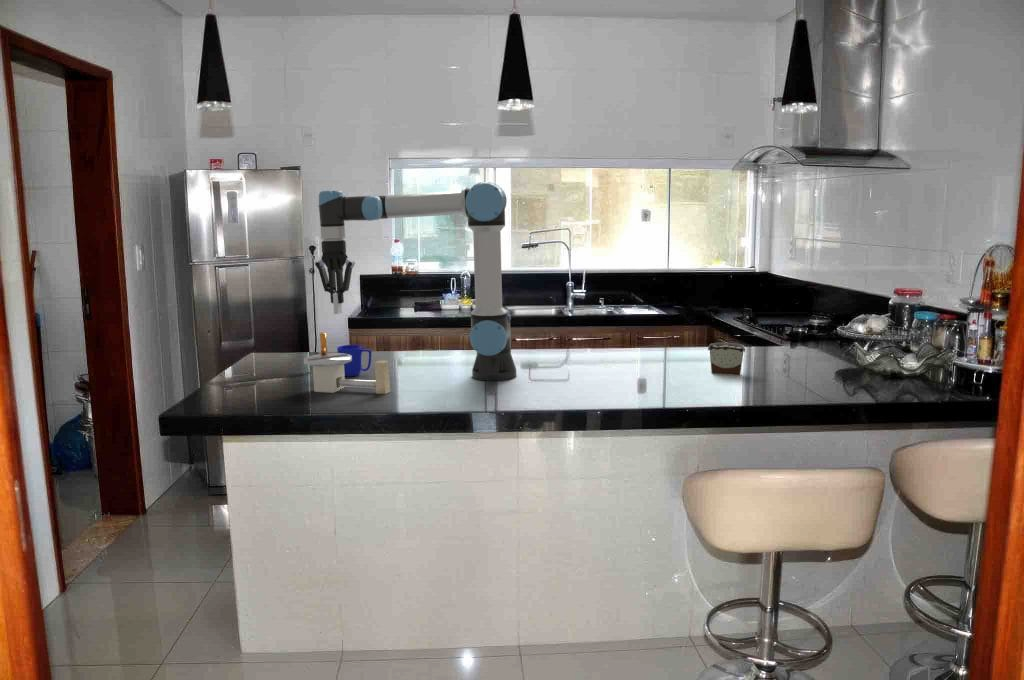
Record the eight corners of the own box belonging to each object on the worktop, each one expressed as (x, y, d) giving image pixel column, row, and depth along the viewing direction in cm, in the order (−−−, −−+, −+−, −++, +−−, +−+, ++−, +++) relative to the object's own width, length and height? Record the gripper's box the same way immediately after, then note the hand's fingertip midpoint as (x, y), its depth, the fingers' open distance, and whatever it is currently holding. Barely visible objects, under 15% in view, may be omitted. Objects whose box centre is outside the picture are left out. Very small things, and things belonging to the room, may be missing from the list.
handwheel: (341, 354, 261) (340, 330, 260) (359, 361, 249) (357, 336, 248) (297, 360, 253) (295, 335, 252) (313, 368, 241) (312, 342, 239)
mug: (367, 378, 268) (366, 349, 266) (334, 377, 270) (333, 348, 269) (376, 373, 276) (375, 345, 274) (344, 372, 278) (342, 344, 276)
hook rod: (390, 391, 248) (388, 360, 246) (385, 394, 245) (383, 362, 243) (320, 387, 256) (318, 357, 254) (314, 389, 253) (312, 359, 251)
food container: (747, 372, 266) (748, 343, 264) (744, 376, 260) (745, 346, 258) (710, 369, 271) (711, 341, 269) (707, 373, 265) (707, 344, 263)
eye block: (345, 387, 255) (343, 360, 254) (333, 392, 248) (332, 365, 247) (326, 386, 257) (324, 359, 256) (314, 391, 250) (312, 364, 249)
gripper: (357, 239, 251) (361, 311, 255) (319, 239, 254) (324, 311, 258) (347, 240, 244) (351, 315, 248) (309, 240, 247) (314, 314, 251)
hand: (338, 313), depth 253 cm, fingers closed
